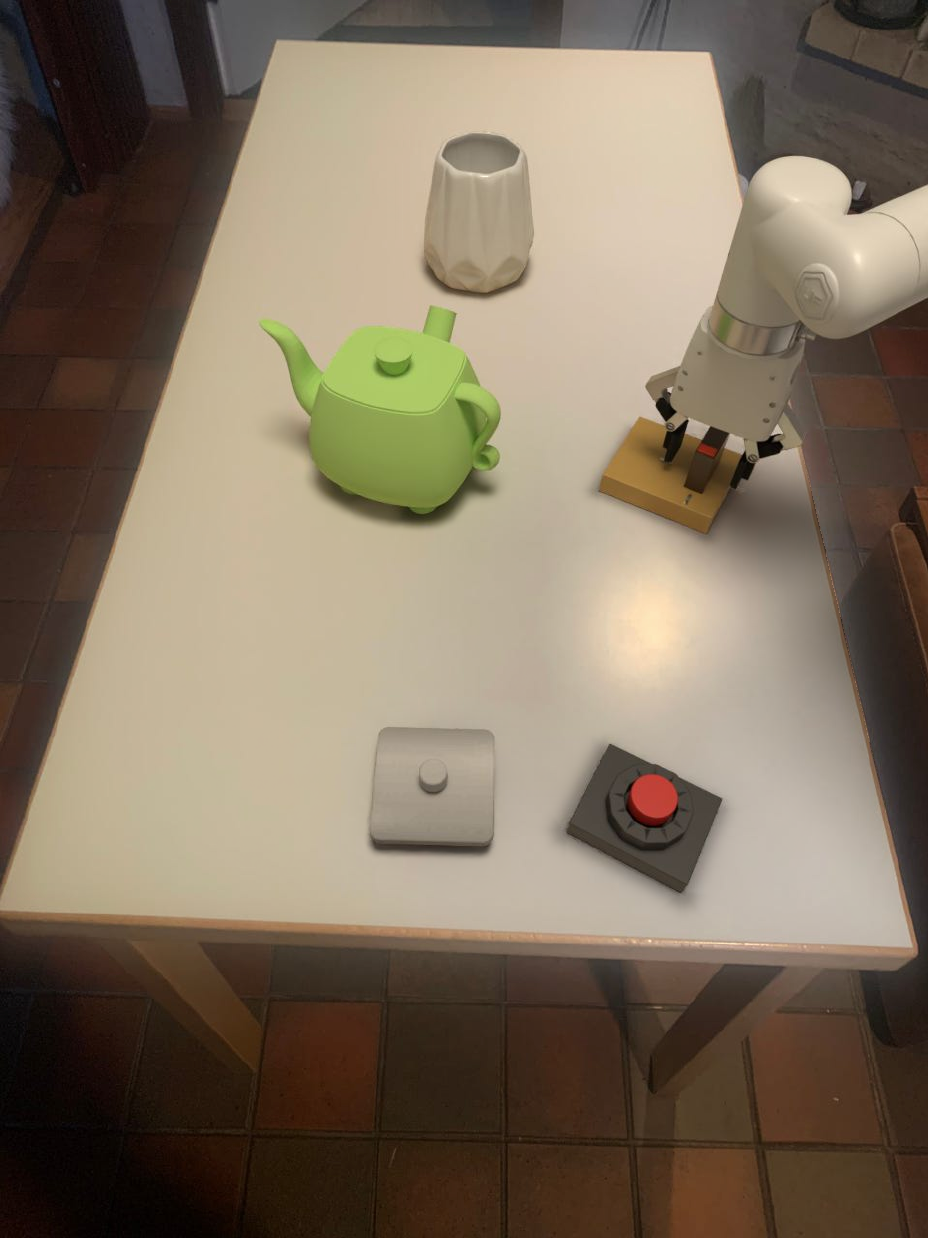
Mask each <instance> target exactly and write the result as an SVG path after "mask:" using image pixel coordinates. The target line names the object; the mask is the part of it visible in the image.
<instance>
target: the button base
mask: <svg viewBox="0 0 928 1238" xmlns="http://www.w3.org/2000/svg"><path fill="white" fill-rule="evenodd" d="M648 774H655V775H659V776H662V777H664V778H666V779H667V780H668V781H670V782H671V783H672V785H673V786H674V788H675V789H676V792H677V796H678V803H677V806H676V808H675V810H674V812H673V814H672V815H671V817H670V818H669V819H668V820H667V821H666V822H665V823H663V824H661V825H656V826H650V825H646V824H643V823H641V822H639V821H638V820H637V819H636V818H634V816H633V815H632V814H631V812H630V810H629V807H628V795H629V793H630V790H631V788H632V786H633V784H634V782H635V781H636V780H637V779H638V778H640V777H642V776H644V775H648ZM722 802H723V798H722V797H720V796H719V795H716V794H714V793H713V792H710V791H709V790H706V789H704V788H702V787H700V786H698V785H696V784H694V783H692V782H690V781H688V780H686V779H683V778H681V776H680V777H679V775H678V774H677V773H675V772H673V771H672V770H670V769H668V768H666V767H663V766H661V765H659V764H657V763H651V762H649V761H647V760H645V759H643V758H641V757H639V756H636V755H635V754H632V753H630V752H629V751H627V750H624V749H622V748H620V747H618V746H616V745H614V744H613V743H609V744H608V746H607V748H606V749H605V751H604V754H603V756H602V757H601V759H600V762H599V763H598V765H597V767H596V770H595V771H594V773H593V775H592V777H591V779H590V781H589V783H588V784H587V787H586V789H585V791H584V793H583V795H582V796H581V799H580V801H579V803H578V805H577V807H576V809H575V811H574V813H573V814H572V816H571V818H570V821H569V822H568V826H567V829H566V833H568V834H569V835H571V836H572V837H575V838H577V839H579V840H580V841H583V842H584V843H586V844H588V845H589V846H592V847H593V848H596V849H598V850H600V851H601V852H603V853H605V854H607V855H608V856H610V857H612V858H615V859H617V860H618V861H620V862H622V863H624V864H626V865H628V866H630V867H632V868H634V869H636V870H638V871H639V872H641V873H643V874H645V875H647V876H649V877H651V878H652V879H654V880H656V881H658V882H660V883H662V884H664V885H666V886H667V887H670V888H671V889H673V890H675V891H677V892H679V893H682V892H683V891H684V890H685V889H686V887H687V886H688V885H689V883H690V880H691V878H692V875H693V873H694V870H695V868H696V865H697V862H698V860H699V859H700V856H701V853H702V851H703V848H704V845H705V844H706V840H707V838H708V836H709V834H710V831H711V829H712V826H713V823H714V821H715V819H716V817H717V814H718V812H719V810H720V807H721V804H722Z"/></svg>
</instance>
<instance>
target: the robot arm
mask: <svg viewBox="0 0 928 1238" xmlns="http://www.w3.org/2000/svg"><path fill="white" fill-rule="evenodd" d="M852 194H853V193H852V186H851V183H850V181H849V179H848V177H847V176H846V175H845V174H844V172H843V171H842V170H840V168H838V167H837V166H835V165H833V164H832V163H829V162H827V161H825V160H822V159H820V158H817V157H816V158H815V157H811V156H810V157H809V156H804V155H788V156H782V157H778V158H775V159H772V160H770V161H768V162H766V163H765V164H763V165H762V166H760V168H759V169H758V170H757V171H756V172H755V173H754V175H753V176H752V178H751V180H750V181H749V184H748V187H747V189H746V192H745V196H744V199H743V201H742V205H741V209H740V213H739V216H738V220H737V223H736V226H735V229H734V233H733V236H732V238H731V239H732V240H731V243H730V247H729V250H728V253H727V257H726V260H725V264H724V267H723V271H722V273H721V277H720V279H719V280H720V281H719V284H718V286H717V291H716V294H715V298H714V301H713V304H712V305H711V306H709V307H708V308H707V309H706V310H705V311H704V313H703V314H702V316H701V318H700V319H699V322H698V323H697V326H696V328H695V330H694V332H693V335H692V337H691V338H690V340H689V343H688V345H687V348H686V349H685V353H684V355H683V358H682V360H681V363H680V365H678V366H676V367H673V368H670V369H668V370H665V371H662V372H659V373H656V374H654V375H651V376H650V377H649V379H648V380H647V382H646V383H645V385H644V387H645V390H646V391H647V393H648V395H649V396H650V398H651V399H652V401H654V403H655V408H656V410H657V412H658V414H660V416H661V417H662V419H663V421H664V422H665V423H664V424H663V425H664V427H665V429H666V430H667V432H666V436H665V439H664V443H663V448H665V449H667V452H666V455H665V459H664V461H665V462H668V463H669V462H672V460H673V458H674V457H675V455H676V453H677V452H678V450H679V449H680V447H681V445H682V441H683V438H684V435H685V434H686V433H687V428H688V425H689V421H690V420H689V419H692V420H693V421H697V422H699V423H702V424H704V425H707V426H709V427H710V426H712V427H714V428H717V429H720V430H722V431H725V432H728V433H730V435H733V436H735V437H739V438H742V439H743V444H744V445H743V446H744V451H743V452H742V453H741V454H742V456H741V458H740V460H739V462H738V465H737V467H736V470H735V472H734V475H733V478H732V480H731V483H730V485H729V486H731V488H730V489H732V488H733V490H735V489H736V488H737V487H739V484H740V482H741V480H745V481H749V479H750V477H751V476H752V473H753V471H754V469H755V466H756V464H757V463H758V462H759V461H760V460H761V459H765V458H768V457H771V456H775V455H776V456H777V455H779V454H780V453H781V452H783V451H788V450H792V449H796V448H798V447H801V446H802V445H804V442H805V441H806V438H807V435H808V434H807V432H806V430H805V429H804V426H803V425H802V423H801V422H800V420H799V419H798V417H797V415H796V414H795V412H794V411H793V409H792V407H791V406H790V404H789V401H790V398H791V395H792V394H793V390H794V387H795V384H796V382H797V379H798V376H799V372H800V369H801V366H802V362H803V356H804V351H805V347H806V346H805V345H806V339H807V340H810V341H813V342H815V340H817V339H816V338H817V337H818V336H820V337H822V338H826V339H831V340H841V339H847V338H851V337H853V336H855V335H858V334H860V333H862V332H865V331H866V330H868V329H871V328H872V327H874V326H877V325H878V324H880V323H882V322H884V321H887V320H888V319H889V318H892V317H893V316H895V315H897V314H898V313H900V312H902V311H904V310H907V309H908V308H911V307H912V306H915V305H917V304H918V303H920V302H922V301H924V300H926V299H928V184H926V185H924V186H920V187H919V188H916V189H913V190H912V191H909V192H907V193H905V194H903V195H901V196H898V197H895V198H893V199H891V200H889V201H886V202H884V203H882V204H879V205H877V206H875V207H873V208H871V209H869V210H866V211H864V212H862V213H856V214H855V213H854V214H848V213H849V210H850V207H851V204H852V198H853V197H852V196H853V195H852ZM669 388H672V389H671V392H670V391H669ZM777 426H778V427H779V429H780V431H781V432H782V433H776V434H773V432H774V431H775V429H776V427H777Z"/></svg>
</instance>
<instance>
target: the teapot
mask: <svg viewBox="0 0 928 1238" xmlns="http://www.w3.org/2000/svg"><path fill="white" fill-rule="evenodd" d="M457 314H458V313H457V312H456V311H453V310H450V309H447V308H443V307H441V306H437V305H429V308H428V311H427V315H426V317H425V322H424V325H423V329H422V332H419V331H416V330H411V329H405V328H399V327H393V326H383V325H367V326H366V325H365V326H362V327H359V328H357V329H356V330H354V331H353V332H351V334H349V335H348V336H347V338H346V339H345V340H344V341H343V343H342V344H341V346H340V347H339V348H338V349H337V351H336V352H335V354H334V355H333V357H332V358H331V360H330V362H329V363H328V365H327V366H326V369H325V370H324V372H323V371H322V370H321V369H320V368H319V367H318V366H317V365H316V364H315V362H314V361H313V360H312V358H311V356H310V354H309V352H308V351H307V348H306V347H305V345H304V343H303V342H302V341H301V339H300V338H299V336H297V334H296V333H295V332H294V331H293V330H292V329H291V328H289V327H288V326H286V325H285V324H283V323H281V322H280V321H277V320H274V319H270V318H261V319H259V321H258V324H259V326H260V327H261V328H262V330H263V331H264V332H266V333H267V334H268V335H269V336H270V337H271V339H273V340H274V341H275V342H276V343H277V345H278V347H279V348H280V350H281V352H282V354H283V356H284V359H285V362H286V366H287V369H288V373H289V378H290V382H291V386H292V390H293V393H294V396H295V398H296V400H297V402H298V403H299V405H300V407H301V408H302V409H303V411H305V413H306V414H307V415H308V416H309V417H310V421H309V435H308V436H309V450H310V454H311V459H312V460H313V462H314V464H315V466H316V468H317V469H318V470H319V471H320V472H321V473H322V474H323V475H324V476H325V477H326V478H327V479H329V480H330V481H332V482H333V483H335V484H337V485H338V486H340V489H341V490H342V491H343V492H344V493H346V494H348V495H359V496H361V497H363V498H366V499H369V500H372V501H375V502H380V503H383V504H388V505H395V506H402V507H408V508H409V510H411V511H412V512H413V513H415V514H419V515H425V514H430V513H432V512H433V511H435V509H436V508H437V507H439V506H442V505H444V504H445V503H447V502H448V501H449V500H450V499H451V498H452V497H453V496H454V495H455V494H456V492H457V491H458V490H459V488H460V487H461V486H462V484H463V483H464V481H465V480H466V478H467V476H468V475H469V473H470V472H471V470H472V469H473V468H474V469H475V470H477V471H481V472H489V471H492V470H493V469H495V468H496V467H497V466H498V464H499V463H500V459H501V454H500V451H499V449H497V447H495V446H494V445H491V444H488V442H489V441H490V440H491V439H492V437H493V435H494V434H495V433H496V431H497V429H498V427H499V424H500V421H501V418H502V417H501V416H502V410H501V406H500V403H499V401H498V400H497V398H496V397H495V396H494V394H493V393H491V392H490V391H489V390H487V389H486V388H484V387H482V386H481V383H480V381H479V379H478V376H477V374H476V372H475V370H474V368H473V365H472V364H471V362H470V358H469V357H468V356H467V354H466V352H464V350H462V349H461V348H460V347H459V346H457V345H455V344H453V343H451V339H452V334H453V332H454V331H453V330H454V326H455V322H456V317H457Z"/></svg>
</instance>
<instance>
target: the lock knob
mask: <svg viewBox="0 0 928 1238" xmlns="http://www.w3.org/2000/svg"><path fill="white" fill-rule="evenodd" d="M730 435H731V434H730V433H728V432H725V431H722V430H720V429H717V428H714V427H712V426H709V427H708V429H707V431H706V433H705V434H704V436H703V438H701V439H702V441H701V443H700V444H699V446H698V448H697V449H696V451H695V453H694V456H693V459H692V462H691V465H690V469H689V472H688V475H687V478H686V481H685V484H684V487H686V488H688V489H691V490H693V491H696V492H698V493H701V494H702V493H703V491H704V489H705V487H706V486H707V484H708V482H709V480H710V479H711V477H712V475H713V473H714V471H715V470H716V468H717V466H718V464H719V462H720V460H721V457H722V454H723V451H724V449H725V448H726V446H727V444H728V441H729V437H730Z"/></svg>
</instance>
